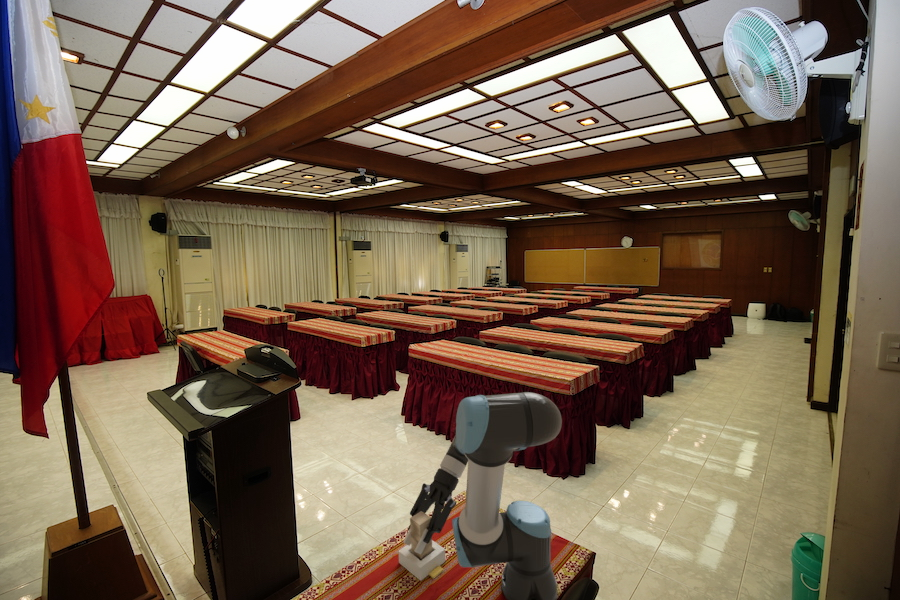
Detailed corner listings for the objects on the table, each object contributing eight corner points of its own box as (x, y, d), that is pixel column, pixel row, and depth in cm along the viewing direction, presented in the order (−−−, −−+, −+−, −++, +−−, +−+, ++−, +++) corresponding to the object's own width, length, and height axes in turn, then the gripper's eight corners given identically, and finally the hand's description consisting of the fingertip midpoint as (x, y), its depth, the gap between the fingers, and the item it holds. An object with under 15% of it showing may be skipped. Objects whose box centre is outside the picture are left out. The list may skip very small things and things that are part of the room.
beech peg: (432, 550, 121) (431, 517, 120) (421, 559, 118) (419, 525, 117) (422, 543, 124) (421, 510, 123) (411, 551, 121) (410, 518, 120)
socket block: (450, 565, 120) (450, 552, 119) (425, 585, 113) (425, 572, 112) (423, 545, 128) (423, 533, 128) (399, 562, 121) (398, 550, 121)
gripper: (475, 488, 124) (439, 567, 114) (436, 467, 136) (400, 537, 127) (463, 479, 120) (424, 560, 110) (424, 459, 132) (386, 530, 122)
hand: (411, 548), depth 118 cm, fingers closed on beech peg, 4 cm apart
